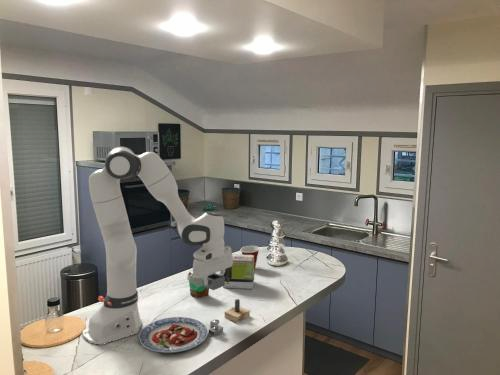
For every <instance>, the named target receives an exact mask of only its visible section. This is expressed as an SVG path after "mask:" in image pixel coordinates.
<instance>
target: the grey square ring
mask: <svg viewBox="0 0 500 375" xmlns="http://www.w3.org/2000/svg"><path fill="white" fill-rule="evenodd" d="M219 274H220V273H217V272H216V273H213V274H211V275H208V278H207V280H209V281H210V284H209V285H207V286H206V285H204V280H203V286H204V287H207V288H209V290H211V291H215V290H218V289H219V288H223V286H225V276H222V275H219Z"/></svg>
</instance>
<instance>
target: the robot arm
mask: <svg viewBox="0 0 500 375" xmlns="http://www.w3.org/2000/svg"><path fill="white" fill-rule="evenodd" d="M133 177H138V178H140V180H141V181H142V183H143V185H144V187H145V188H146V189H147V190H148V192H149V194H151V196H152V197H153V198H154V199H155V200H156V201H158V202H161V204H162V203H163V204H164V205H165V207H166V208H167V210H168V211H169V213H170V214H171V216H172V217H173V219H174V220H175V224H176V231H177V233H178V235H179V236H180V238H181V240H182V242H183V243H184V244H185V245H186V246H189V247H195V246H200V245H202V246H201V247H200V248H198V249H197V250H196V251H195V252H193V256H192V257H193V258H194V259H193V262H192V274H193V275H194V277H196V278H199V279H200V278H203V280H204V285H206V286H207V285H209V284H210V281H209V280H207V278H208V275H211V274H213V273H216V274H217V273H218V272H219V273H218V274H219V275H222V276H223V275H224V273H225V269H227V268H229V267H232V265H233V257H232V254H233V251H232V247H231V246H229V245H226V246H225V240H224V235H225V221H224V217H223V215H222V214H221V213H219V212H215V211H206V212H204V213H203V214H201V216H199V217H196V216H195V215H193V214H191V213H190V212H189V211H188V210H187V208H186V206H185V205H184V203H183V201H182V200H181V198H180V196H179V190H178V188H179V186H178V184H177V181H176V179H175V177H174V175H173V173H172V171H171V170H170V169H169V166H168V165H167V164H166V162H164V160H163V159H162V158H161V157H160V155H158V154H157V153H156V152H154V151H147V152H143V153H142V154H140V155H138V154H135V152H134V151H133V150H132V149H131V148H130V147H128V146H123V145H120V146H115V147H114V148H112V149H111V150H110V151H108V153H107V154H106V156H105V160H104V167H103V168H101V169H98V170H95V171H94V172H92V173H91V174H90V175H89V177H88V189H89V194H90V198H91V202H92V207H93V211H94V213H95V217H96V221H97V223H98V226H99V231H100V233H101V236H102V239H103V243H104V248H105V260H106V261H105V262H106V263H105V264H106V267H105V268H106V289H107V291H106V292H107V293H106V295H105V297H104V296H103V295H99V296H98V298H97V301H99V302H100V303H103V304H102V305H101V306H100V307H99V309H98V310H97V311H95V313H94V314H93V315H91V316H90V318H89V321H88V327H87V328H85V329H83V330H82V337H83V339H84V338H85V339H84V340H86V341H87V340H88V341H89V342H88V341H87V342H88V343H90V342H91V343H90V344H92V343H94V344H93V345H95V344H103V345H105V344H104V343H107V342H110V343H112V342H111V341H113V342H116V341H119V340H121V338H122V339H125V338H128V337H130V335H131V336H135V335H137V334H139V333H140V328H141V327H142V324H143V322H142V319H141V316H140V312H139V306H138V300H139V293H138V292H139V291H138V289H137V256H138V254H137V244H136V242H135V240H134V239H135V238H134V236H133V232H132V229H131V225H130V221H129V216H128V213H127V212H128V211H127V209H126V204H125V200H124V197H123V194H122V190H121V185H120V183H121V180H125V179H126V180H127V179H129V178H130V179H131V178H133ZM134 334H135V335H134ZM124 337H125V338H124ZM118 339H119V340H118ZM115 340H116V341H115ZM107 344H108V343H107Z"/></svg>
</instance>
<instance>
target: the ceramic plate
mask: <svg viewBox="0 0 500 375" xmlns="http://www.w3.org/2000/svg"><path fill="white" fill-rule="evenodd" d="M138 334H139V335H138V341H139V342H140V344H141V345H142V346H143V347H144V348H146V349H148V350H149V351H153V352H157V353H163V354H164V353H167V354H168V353H180V352H185V351H189V350H191V349H194V348H196V347H198V346H199V345H200V344H201V343H203V342H204V341H205V340H206V339H207V337H208V335H209V329H208V327H207V326H206V325H205V323H203V322H202V321H200V320H198V319H195V318H191V317H187V316H171V317H166V318H161V319H157V320H155V321H153V322H150V323H149V324H147V325H146V326H145V327H143V328H142V329H141V330H140V331H139V333H138ZM170 348H171V349H170Z"/></svg>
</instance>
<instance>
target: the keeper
mask: <svg viewBox="0 0 500 375" xmlns="http://www.w3.org/2000/svg"><path fill="white" fill-rule="evenodd" d="M250 315H251V313H250V310H249V309H247V308H244V307H242V306H241V305H240V299H239V298H236V299H234V307H232V308H229V309H228V310H227V309H226V311H224V318H225V319H228V320H229V321H232V322H234V323H236V324H237V323H239V322H242V320H245V319H246V318H249V317H250Z"/></svg>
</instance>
